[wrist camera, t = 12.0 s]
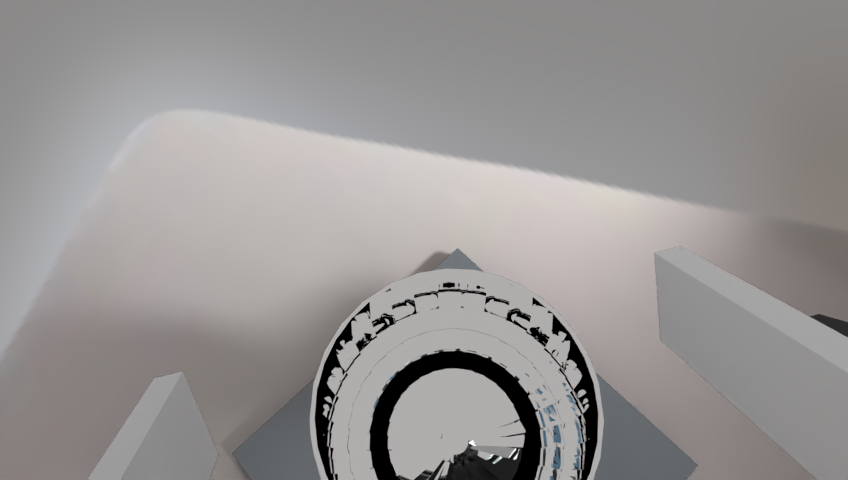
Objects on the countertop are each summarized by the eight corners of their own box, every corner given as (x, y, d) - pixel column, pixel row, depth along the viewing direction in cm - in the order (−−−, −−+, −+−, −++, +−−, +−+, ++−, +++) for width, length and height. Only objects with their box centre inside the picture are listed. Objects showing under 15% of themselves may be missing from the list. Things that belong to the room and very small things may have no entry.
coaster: (457, 255, 23) (457, 248, 23) (689, 466, 19) (698, 465, 18) (240, 454, 20) (232, 453, 20) (458, 758, 16) (458, 770, 15)
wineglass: (371, 391, 20) (277, 260, 10) (518, 373, 20) (587, 222, 10) (381, 564, 18) (268, 650, 7) (550, 543, 18) (699, 597, 7)
